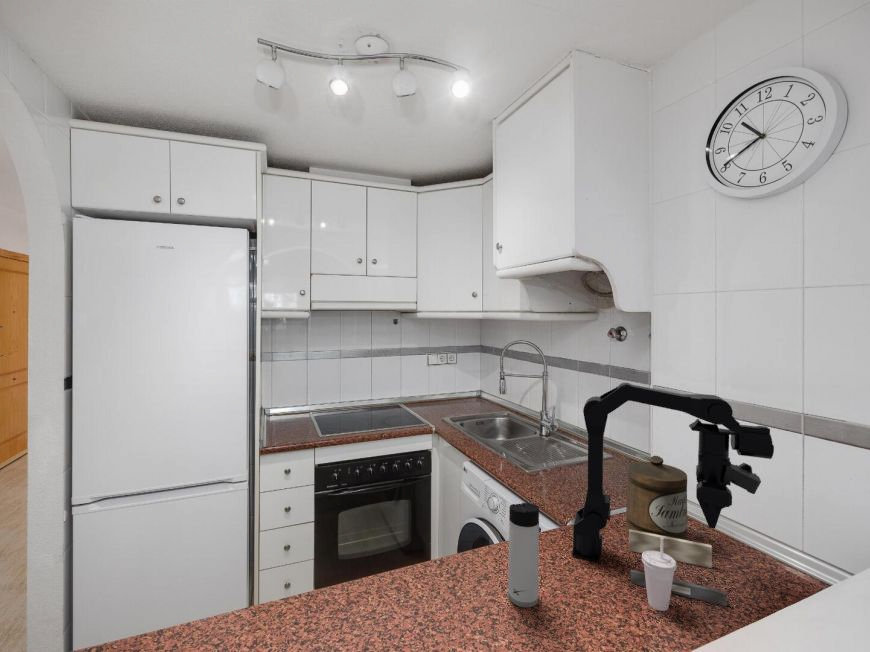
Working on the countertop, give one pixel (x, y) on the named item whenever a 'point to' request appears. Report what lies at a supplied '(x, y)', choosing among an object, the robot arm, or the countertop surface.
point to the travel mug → (523, 554)
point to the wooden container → (657, 499)
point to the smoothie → (658, 577)
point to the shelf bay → (678, 552)
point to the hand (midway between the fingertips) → (711, 519)
